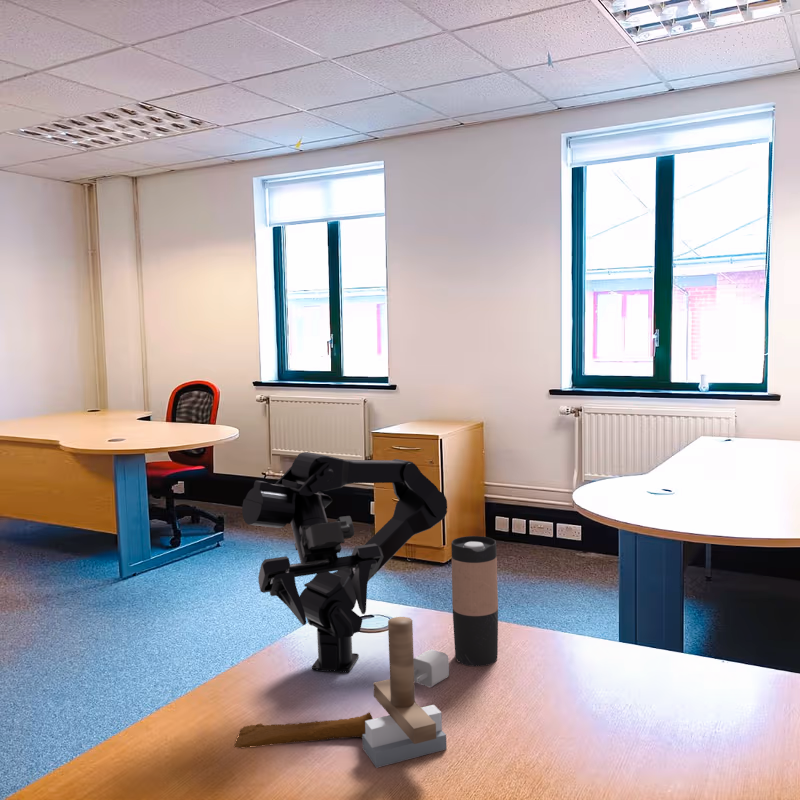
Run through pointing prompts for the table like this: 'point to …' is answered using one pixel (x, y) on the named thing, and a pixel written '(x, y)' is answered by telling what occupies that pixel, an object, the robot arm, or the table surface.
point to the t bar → (403, 685)
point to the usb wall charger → (431, 667)
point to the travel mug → (475, 600)
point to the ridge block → (399, 740)
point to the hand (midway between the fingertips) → (334, 618)
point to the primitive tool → (301, 731)
